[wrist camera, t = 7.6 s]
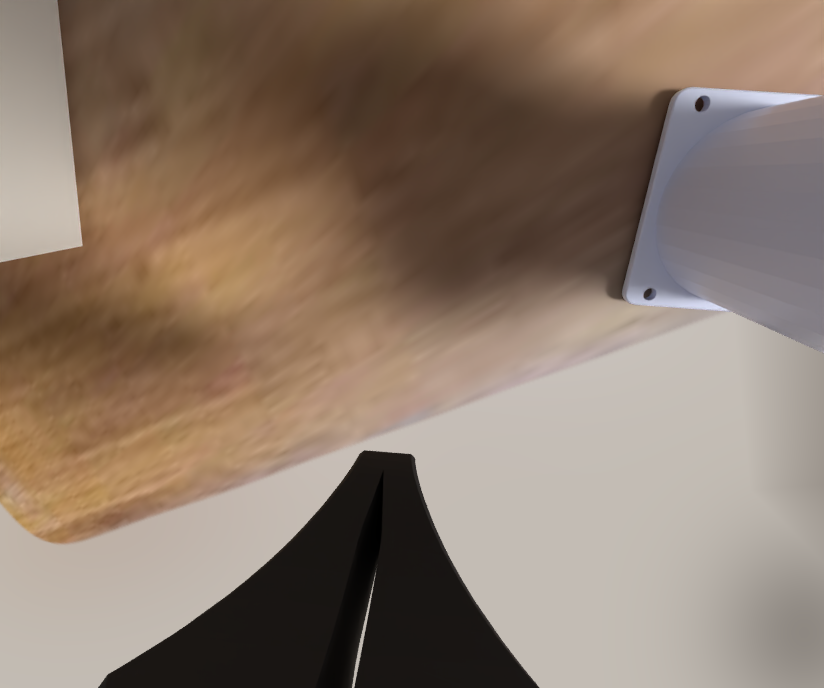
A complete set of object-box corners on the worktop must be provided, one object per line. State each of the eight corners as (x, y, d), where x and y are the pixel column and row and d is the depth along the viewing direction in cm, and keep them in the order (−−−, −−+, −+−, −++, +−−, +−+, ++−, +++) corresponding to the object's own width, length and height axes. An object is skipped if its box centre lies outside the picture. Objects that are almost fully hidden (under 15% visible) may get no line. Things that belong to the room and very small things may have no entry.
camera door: (82, 246, 18) (-7, 263, 15) (49, 239, 18) (-48, 255, 15) (52, -44, 15) (-77, -119, 11) (12, -53, 15) (-132, -130, 11)
